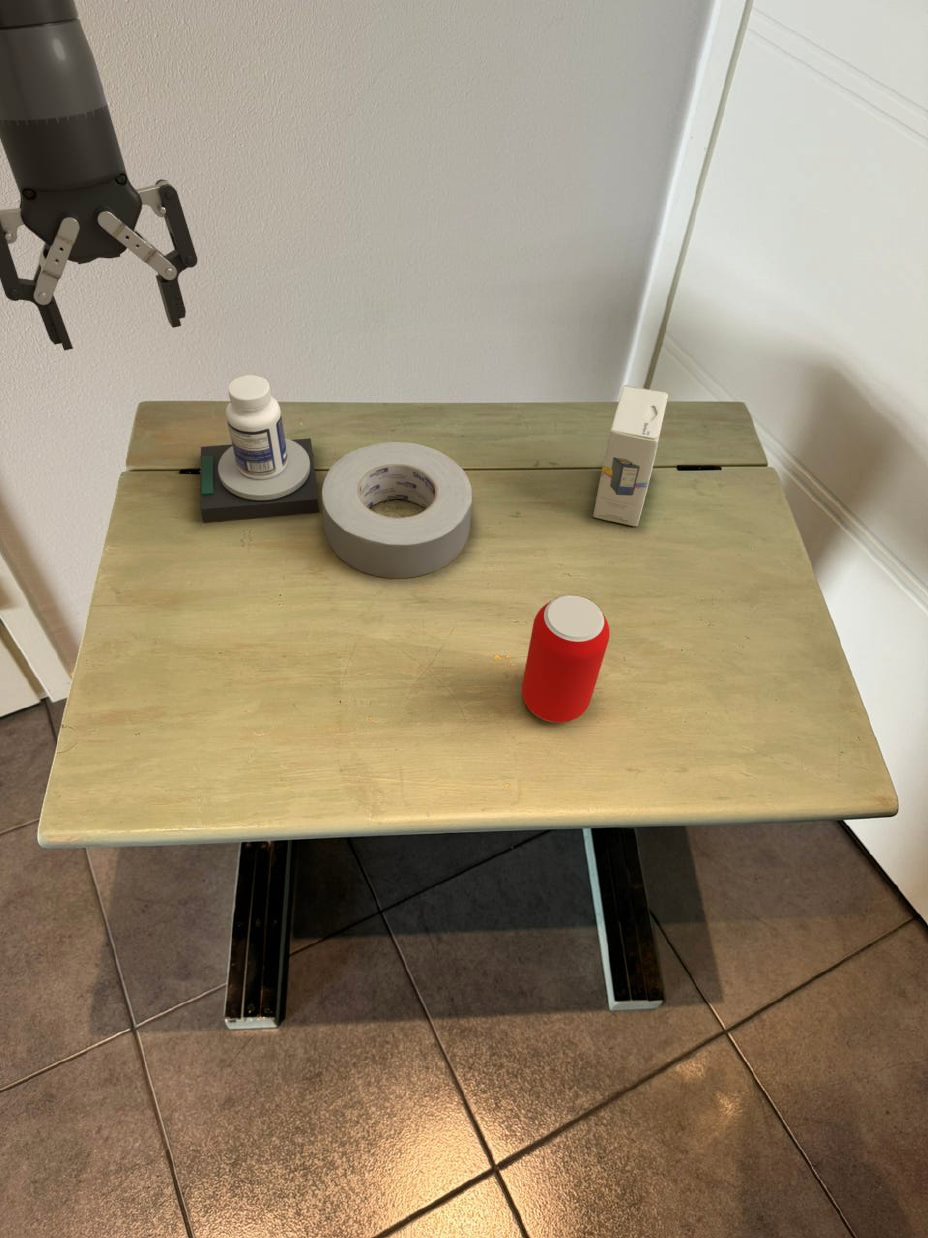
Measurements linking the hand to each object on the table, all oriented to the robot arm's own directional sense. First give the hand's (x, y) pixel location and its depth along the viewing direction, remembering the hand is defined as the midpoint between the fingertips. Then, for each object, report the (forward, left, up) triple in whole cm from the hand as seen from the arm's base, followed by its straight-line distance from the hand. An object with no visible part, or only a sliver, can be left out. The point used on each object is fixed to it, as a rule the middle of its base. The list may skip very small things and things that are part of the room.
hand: (122, 335), depth 68 cm
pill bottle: (+9, +7, -20) cm, 23 cm away
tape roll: (+22, -1, -23) cm, 32 cm away
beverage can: (+33, -25, -23) cm, 48 cm away
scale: (+8, +7, -23) cm, 25 cm away
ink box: (+47, 0, -23) cm, 53 cm away
